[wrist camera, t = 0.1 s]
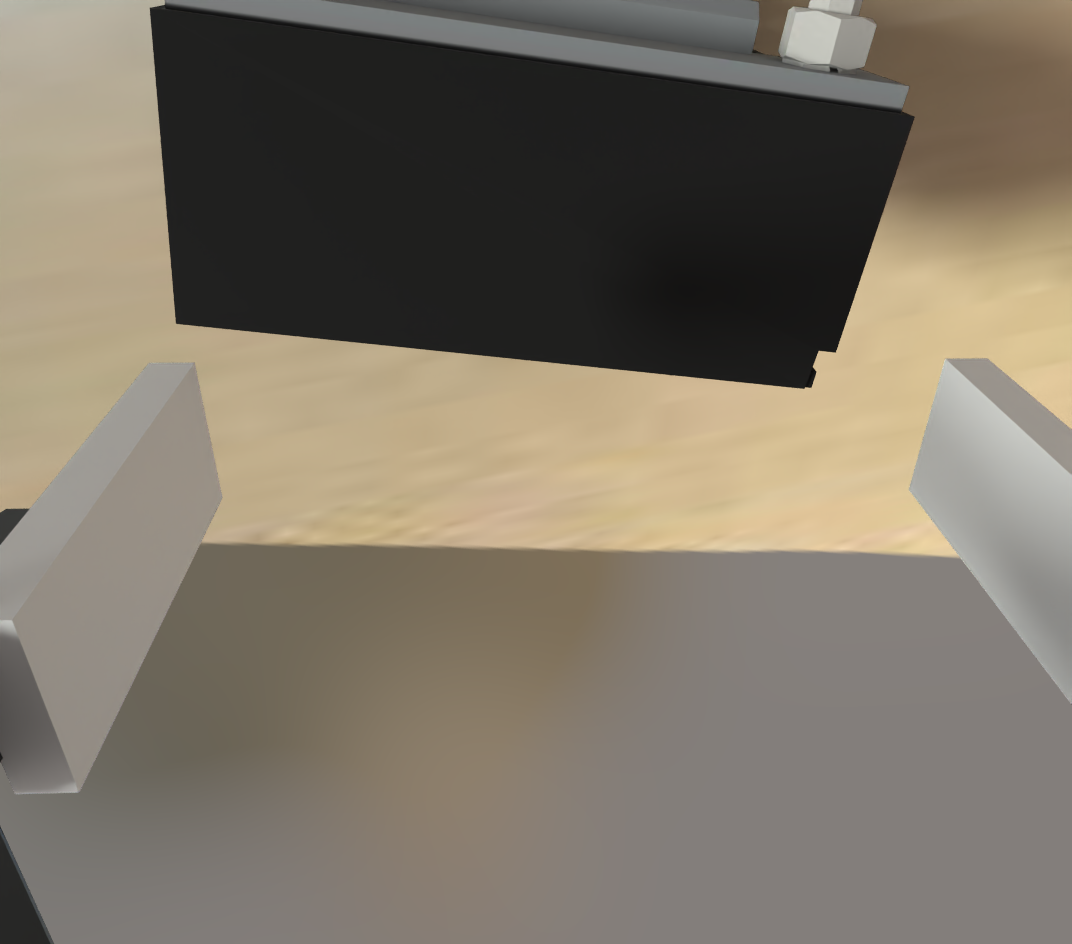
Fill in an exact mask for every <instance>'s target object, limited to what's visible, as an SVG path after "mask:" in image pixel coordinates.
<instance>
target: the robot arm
mask: <svg viewBox="0 0 1072 944" xmlns="http://www.w3.org/2000/svg"><path fill="white" fill-rule="evenodd" d="M909 491H910V492H911V493H912V495H913V496H914V497H915V499H916V500H917V501H918V502H919V504H920V505H921V506H922V508H923V509H924V510H925V512H926V513H927V514H928V516H929V517H930V518H931V520H932V521H933V522H934V524H935V525H936V526H937V528H938V529H939V530H940V532H941V533H942V534H943V535H944V537H945V538H946V539H947V541H948V542H949V543H950V545H951V546H952V547H953V549H954V550H955V551H956V553H957V554H958V555H959V557H960V558H961V559H962V561H963V562H964V563H965V564H966V566H967V567H968V568H969V570H970V571H971V572H972V574H973V575H974V576H975V578H976V579H977V580H978V582H979V583H980V584H981V586H982V587H983V588H984V590H985V591H986V592H987V594H988V595H989V596H990V597H991V599H992V600H993V601H994V603H995V604H996V605H997V607H998V608H999V609H1000V611H1001V612H1002V613H1003V614H1004V616H1005V617H1006V618H1007V620H1008V621H1009V623H1010V624H1011V625H1012V626H1013V628H1014V629H1015V630H1016V632H1017V633H1018V634H1019V636H1020V637H1021V638H1022V640H1023V641H1024V642H1025V644H1026V645H1027V646H1028V648H1029V649H1030V650H1031V652H1032V653H1033V654H1034V655H1035V657H1036V658H1037V659H1038V661H1039V662H1040V663H1041V665H1042V666H1043V667H1044V669H1045V670H1046V671H1047V673H1048V674H1049V675H1050V677H1051V678H1052V679H1053V680H1054V682H1055V683H1056V684H1057V686H1058V687H1059V689H1060V690H1061V691H1062V692H1063V694H1064V695H1065V696H1066V698H1067V699H1068V700H1069V702H1070V703H1071V704H1072V429H1070V428H1069V427H1068V426H1067V425H1066V424H1064V423H1063V422H1062V421H1061V420H1060V419H1059V418H1057V417H1056V416H1055V415H1054V414H1053V413H1051V412H1050V411H1049V410H1048V409H1047V408H1046V407H1044V406H1043V405H1042V404H1041V403H1040V402H1038V401H1037V400H1036V399H1035V398H1034V397H1033V396H1031V395H1030V394H1029V393H1028V392H1027V391H1025V390H1024V389H1023V388H1022V387H1021V386H1019V385H1018V384H1017V383H1016V382H1015V381H1014V380H1012V379H1011V378H1010V377H1009V376H1008V375H1006V374H1005V373H1004V372H1003V371H1002V370H1001V369H999V368H998V367H997V366H996V365H995V364H993V363H992V362H991V361H990V360H989V359H987V358H981V359H945V362H944V365H943V369H942V372H941V376H940V380H939V383H938V387H937V390H936V394H935V397H934V401H933V405H932V408H931V412H930V415H929V419H928V423H927V426H926V430H925V433H924V437H923V441H922V444H921V448H920V451H919V455H918V459H917V462H916V466H915V469H914V473H913V477H912V480H911V484H910V487H909ZM221 500H222V493H221V488H220V483H219V478H218V473H217V469H216V464H215V459H214V454H213V449H212V444H211V440H210V435H209V430H208V425H207V420H206V415H205V411H204V406H203V401H202V396H201V391H200V386H199V382H198V377H197V372H196V367H195V363H149V364H148V365H147V366H146V367H145V368H144V370H143V371H142V372H141V373H140V375H139V376H138V377H137V378H136V379H135V381H134V382H133V383H132V384H131V386H130V387H129V388H128V389H127V390H126V392H125V393H124V394H123V395H122V397H121V398H120V399H119V400H118V401H117V403H116V404H115V405H114V406H113V408H112V409H111V410H110V411H109V412H108V414H107V415H106V416H105V417H104V419H103V420H102V421H101V422H100V424H99V425H98V426H97V427H96V428H95V430H94V431H93V432H92V433H91V435H90V436H89V437H88V438H87V439H86V441H85V442H84V443H83V444H82V446H81V447H80V448H79V449H78V450H77V452H76V453H75V454H74V455H73V457H72V458H71V459H70V460H69V461H68V463H67V464H66V465H65V466H64V468H63V469H62V470H61V471H60V473H59V474H58V475H57V476H56V477H55V479H54V480H53V481H52V482H51V484H50V485H49V486H48V487H47V488H46V490H45V491H44V492H43V493H42V495H41V496H40V497H39V498H38V499H37V501H36V502H35V503H34V504H33V506H32V507H31V508H30V509H6V510H4V511H2V512H1V513H0V762H1V763H2V766H3V768H4V770H5V772H6V775H7V777H8V779H9V781H10V783H11V786H12V788H13V790H14V792H15V794H36V793H37V794H38V793H74V792H75V793H76V792H80V790H81V788H82V785H83V784H84V782H85V779H86V777H87V775H88V773H89V771H90V769H91V767H92V765H93V763H94V761H95V759H96V757H97V755H98V753H99V750H100V749H101V747H102V745H103V742H104V740H105V738H106V736H107V734H108V732H109V730H110V728H111V726H112V724H113V722H114V720H115V718H116V715H117V714H118V712H119V709H120V708H121V705H122V703H123V701H124V699H125V697H126V695H127V693H128V691H129V689H130V687H131V685H132V683H133V681H134V679H135V677H136V675H137V673H138V670H139V668H140V666H141V664H142V662H143V660H144V658H145V656H146V654H147V652H148V650H149V648H150V646H151V644H152V642H153V640H154V638H155V636H156V634H157V631H158V629H159V627H160V625H161V623H162V621H163V619H164V617H165V615H166V613H167V611H168V609H169V607H170V604H171V603H172V601H173V599H174V597H175V594H176V592H177V590H178V588H179V586H180V584H181V582H182V580H183V578H184V576H185V574H186V572H187V570H188V568H189V566H190V563H191V562H192V560H193V557H194V555H195V553H196V551H197V549H198V547H199V545H200V543H201V541H202V539H203V537H204V535H205V533H206V531H207V529H208V527H209V525H210V523H211V520H212V518H213V516H214V514H215V512H216V510H217V508H218V506H219V504H220V502H221ZM0 944H54V943H53V940H52V938H51V936H50V934H49V932H48V929H47V927H46V925H45V923H44V921H43V919H42V916H41V914H40V912H39V910H38V908H37V905H36V903H35V901H34V899H33V897H32V895H31V892H30V890H29V888H28V886H27V884H26V881H25V879H24V877H23V875H22V873H21V871H20V868H19V866H18V864H17V862H16V860H15V857H14V855H13V853H12V851H11V849H10V846H9V844H8V842H7V840H6V838H5V836H4V833H3V831H2V829H1V827H0Z"/></svg>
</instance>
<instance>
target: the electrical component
mask: <svg viewBox="0 0 1072 944" xmlns="http://www.w3.org/2000/svg"><path fill="white" fill-rule="evenodd" d="M862 2H863V0H810V3H809V6H808V8H804V7H794V6H793V7H792V8H791V9H789V10H788V14H787V18H786V22H785V26H784V30H783V34H782V38H781V42H780V46H779V50H778V52H779V54H780V56H781V57H778V56H772V55H765V54H763V53H760V52H758V51H755V50H753V47H754V42H755V38H756V33H757V29H758V24H759V2H757V1H752V0H165V5H162V6H157V7H152V8H150V16H151V28H152V40H153V52H154V64H155V76H156V88H157V100H158V112H159V124H160V136H161V148H162V160H163V172H164V184H165V196H166V208H167V221H168V233H169V245H170V257H171V269H172V281H173V293H174V305H175V317H176V324H183V325H193V326H203V327H212V328H222V329H232V330H241V331H251V332H261V333H270V334H280V335H290V336H299V337H309V338H319V339H328V340H338V341H348V342H357V343H367V344H377V345H386V346H396V347H406V348H415V349H425V350H435V351H444V352H454V353H464V354H473V355H483V356H493V357H502V358H512V359H522V360H531V361H541V362H551V363H560V364H570V365H579V366H589V367H599V368H608V369H618V370H628V371H637V372H647V373H657V374H666V375H676V376H686V377H695V378H705V379H715V380H724V381H734V382H744V383H753V384H763V385H773V386H782V387H792V388H802V389H805V387H809V388H811V387H812V384H813V381H814V378H815V375H816V371H815V369H814V368H813V365H814V362H815V359H816V356H817V354H818V351H827V352H836V350H837V347H838V344H839V341H840V338H841V335H842V332H843V329H844V326H845V323H846V320H847V317H848V314H849V312H850V309H851V306H852V303H853V300H854V297H855V294H856V291H857V288H858V285H859V282H860V279H861V276H862V273H863V270H864V267H865V264H866V261H867V258H868V255H869V252H870V249H871V246H872V243H873V240H874V237H875V234H876V231H877V228H878V225H879V222H880V219H881V216H882V213H883V210H884V207H885V204H886V201H887V198H888V195H889V192H890V189H891V186H892V183H893V180H894V177H895V174H896V171H897V168H898V165H899V162H900V159H901V156H902V153H903V150H904V147H905V144H906V141H907V138H908V135H909V132H910V129H911V127H912V124H913V121H914V118H915V117H914V116H911V115H909V114H907V113H904V112H902V108H903V105H904V102H905V99H906V96H907V92H908V89H909V86H907V85H904V84H901V83H898V82H896V81H893V80H890V79H887V78H884V77H881V76H878V75H875V74H873V73H870V72H867V71H864V70H861V69H859V68H862V67H864V66H865V63H866V60H867V56H868V53H869V50H870V46H871V43H872V39H873V36H874V33H875V29H876V26H877V25H876V23H875V22H874V20H873V19H870V18H866V17H861V16H859V12H860V9H861V5H862Z"/></svg>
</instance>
